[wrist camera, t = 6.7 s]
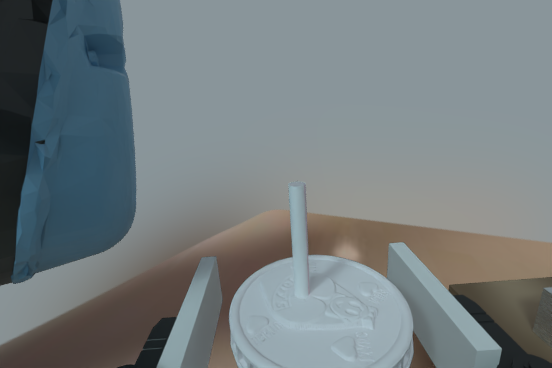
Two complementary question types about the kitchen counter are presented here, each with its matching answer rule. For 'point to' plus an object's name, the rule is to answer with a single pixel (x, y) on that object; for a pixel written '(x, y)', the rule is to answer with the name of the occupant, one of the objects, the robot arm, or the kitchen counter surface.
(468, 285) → the olive-brown boxy piece
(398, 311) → the smoothie
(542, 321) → the chip
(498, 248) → the kitchen counter surface
